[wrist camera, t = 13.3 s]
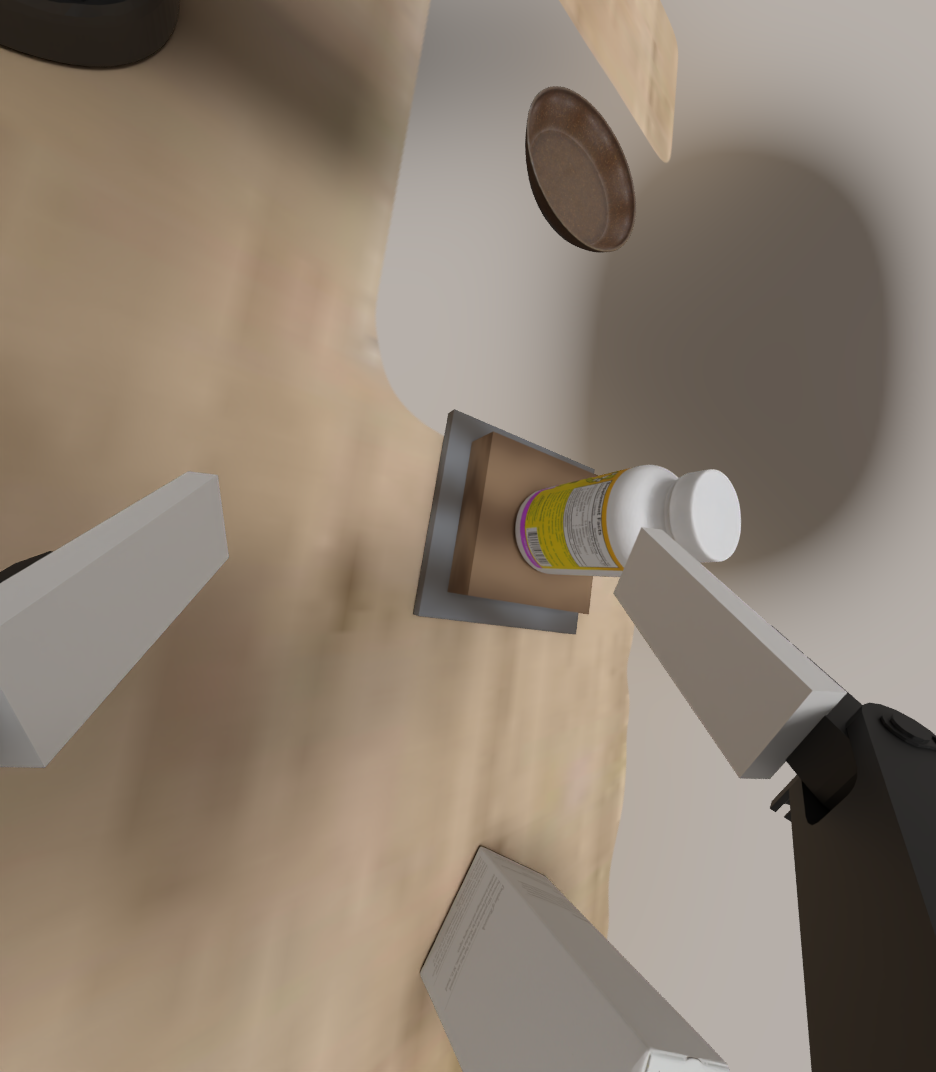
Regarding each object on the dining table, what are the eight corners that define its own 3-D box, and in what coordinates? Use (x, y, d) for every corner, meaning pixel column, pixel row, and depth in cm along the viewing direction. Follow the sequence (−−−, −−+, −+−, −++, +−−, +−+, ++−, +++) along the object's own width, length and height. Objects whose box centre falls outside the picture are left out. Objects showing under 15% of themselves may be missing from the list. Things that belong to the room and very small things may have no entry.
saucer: (537, 267, 37) (557, 248, 35) (490, 98, 35) (508, 66, 33) (628, 267, 45) (650, 251, 42) (593, 127, 42) (614, 103, 40)
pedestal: (448, 413, 31) (474, 395, 28) (586, 471, 39) (620, 463, 35) (413, 614, 29) (437, 621, 25) (567, 632, 37) (602, 640, 33)
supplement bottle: (583, 510, 33) (758, 486, 22) (563, 585, 31) (742, 600, 20) (524, 474, 30) (694, 424, 19) (499, 555, 28) (669, 553, 17)
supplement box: (414, 975, 27) (570, 1342, 15) (478, 841, 31) (653, 1047, 18) (498, 998, 31) (684, 1312, 18) (548, 875, 34) (736, 1068, 21)
